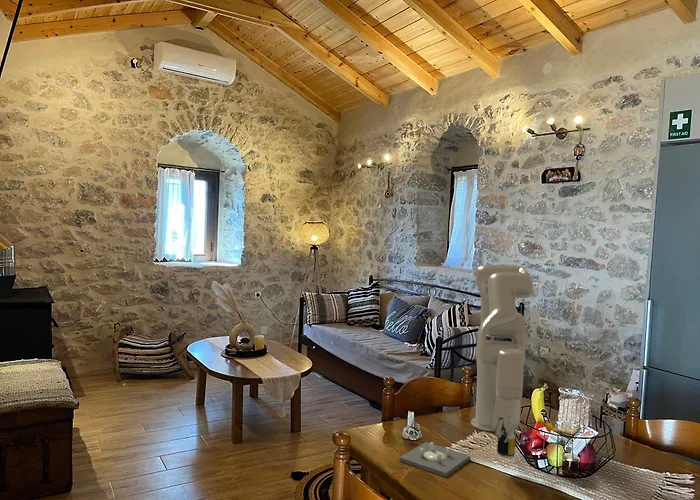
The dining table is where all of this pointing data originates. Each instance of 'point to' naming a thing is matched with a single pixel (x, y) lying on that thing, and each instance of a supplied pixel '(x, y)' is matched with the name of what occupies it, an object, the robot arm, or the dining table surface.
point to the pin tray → (435, 459)
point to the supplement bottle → (510, 445)
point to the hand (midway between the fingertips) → (506, 450)
